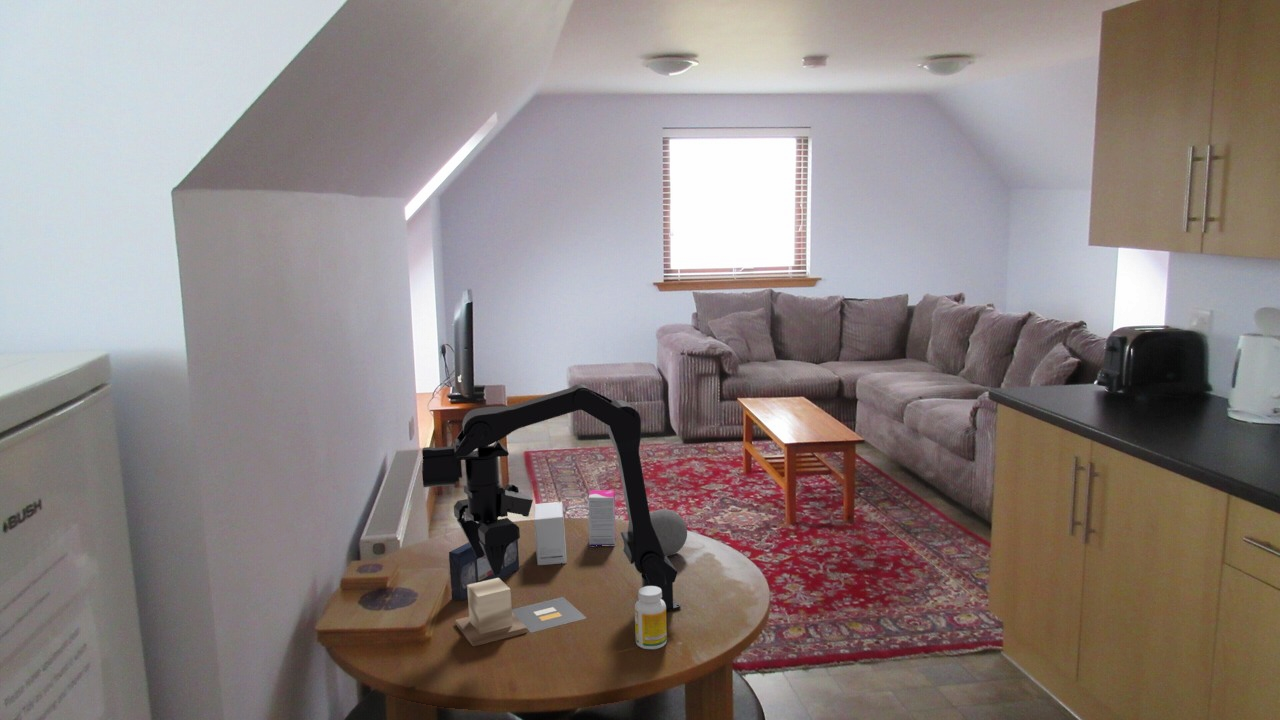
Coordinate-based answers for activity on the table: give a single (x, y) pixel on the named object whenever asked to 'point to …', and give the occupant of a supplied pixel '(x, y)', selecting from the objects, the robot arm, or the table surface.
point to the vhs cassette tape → (477, 568)
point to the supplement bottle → (650, 618)
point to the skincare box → (550, 533)
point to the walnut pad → (479, 639)
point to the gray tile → (547, 614)
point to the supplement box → (601, 517)
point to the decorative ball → (669, 530)
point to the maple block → (489, 605)
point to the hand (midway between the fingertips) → (488, 565)
